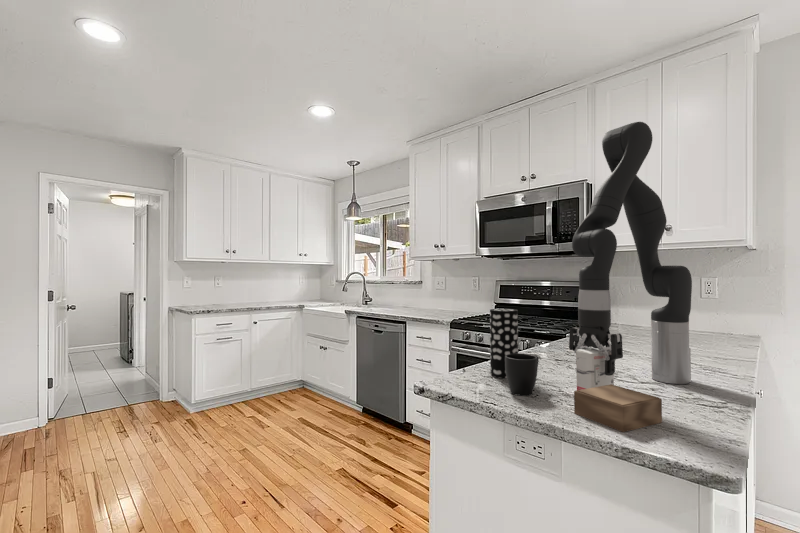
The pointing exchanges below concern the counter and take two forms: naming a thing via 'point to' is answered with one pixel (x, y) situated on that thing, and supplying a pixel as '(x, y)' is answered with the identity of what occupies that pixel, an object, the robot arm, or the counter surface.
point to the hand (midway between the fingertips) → (594, 371)
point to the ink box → (591, 369)
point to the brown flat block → (618, 407)
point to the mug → (521, 373)
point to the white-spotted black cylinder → (502, 339)
